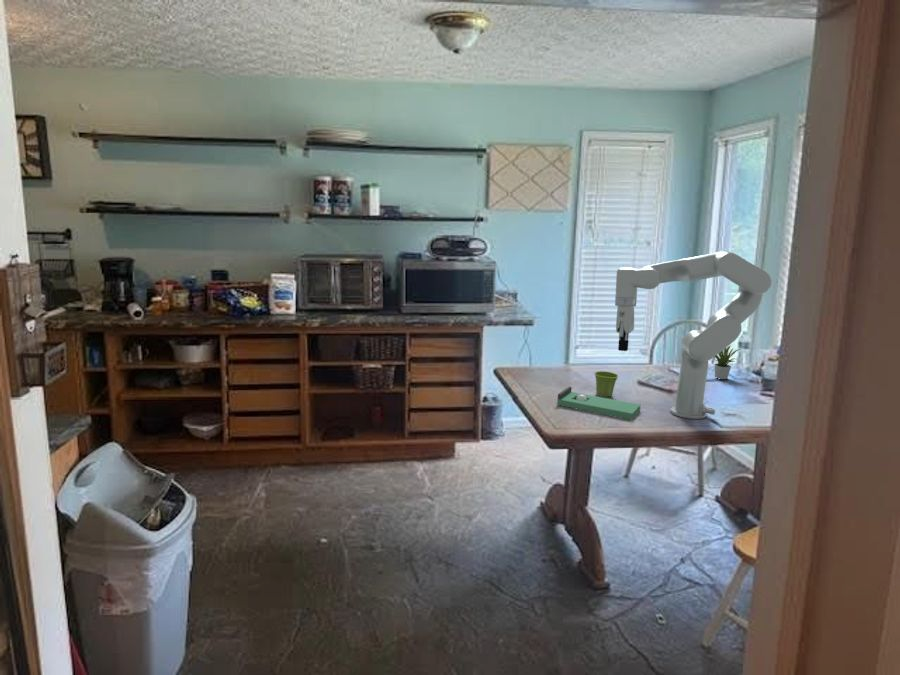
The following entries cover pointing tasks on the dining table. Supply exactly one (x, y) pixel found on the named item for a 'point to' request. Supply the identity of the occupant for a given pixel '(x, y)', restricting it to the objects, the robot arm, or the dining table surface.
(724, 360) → the house plant
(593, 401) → the green
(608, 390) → the plant pot
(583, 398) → the ball
